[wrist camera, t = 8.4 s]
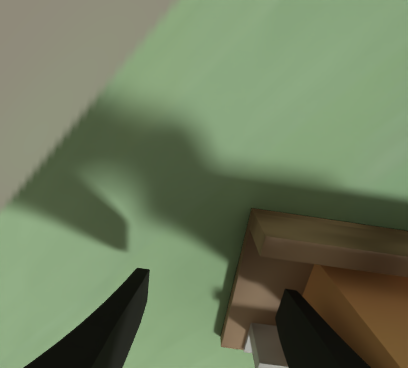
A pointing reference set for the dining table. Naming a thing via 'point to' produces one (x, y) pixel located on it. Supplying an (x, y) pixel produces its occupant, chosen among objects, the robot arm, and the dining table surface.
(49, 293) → the dining table surface
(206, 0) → the dining table surface
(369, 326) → the tan block
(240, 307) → the shelf
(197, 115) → the dining table surface
